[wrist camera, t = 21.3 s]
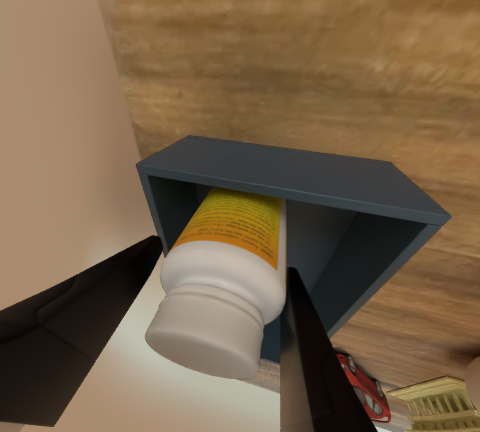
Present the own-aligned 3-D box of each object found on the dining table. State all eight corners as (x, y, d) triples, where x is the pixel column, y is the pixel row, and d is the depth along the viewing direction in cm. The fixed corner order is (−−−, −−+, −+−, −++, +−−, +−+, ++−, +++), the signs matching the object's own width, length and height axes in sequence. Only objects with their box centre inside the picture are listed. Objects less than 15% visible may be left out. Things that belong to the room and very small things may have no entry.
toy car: (349, 383, 34) (356, 422, 30) (310, 347, 28) (313, 389, 24) (384, 386, 31) (397, 430, 27) (348, 346, 25) (357, 394, 22)
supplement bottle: (202, 175, 14) (82, 314, 6) (275, 153, 11) (250, 322, 4) (230, 230, 16) (177, 375, 8) (293, 220, 14) (301, 399, 6)
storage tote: (188, 135, 13) (134, 163, 8) (390, 161, 11) (453, 216, 6) (206, 295, 26) (189, 337, 22) (297, 319, 24) (297, 370, 20)
